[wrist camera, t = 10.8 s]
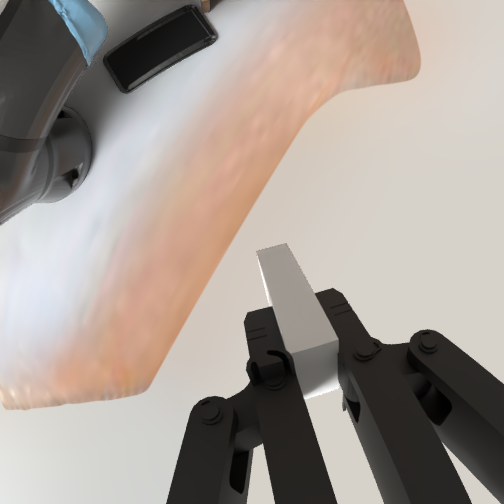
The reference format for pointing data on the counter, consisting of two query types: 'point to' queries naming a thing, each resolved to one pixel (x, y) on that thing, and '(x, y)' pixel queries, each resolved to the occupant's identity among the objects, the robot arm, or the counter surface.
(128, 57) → the phone
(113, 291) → the counter surface
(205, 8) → the low shelf
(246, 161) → the counter surface
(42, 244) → the counter surface
